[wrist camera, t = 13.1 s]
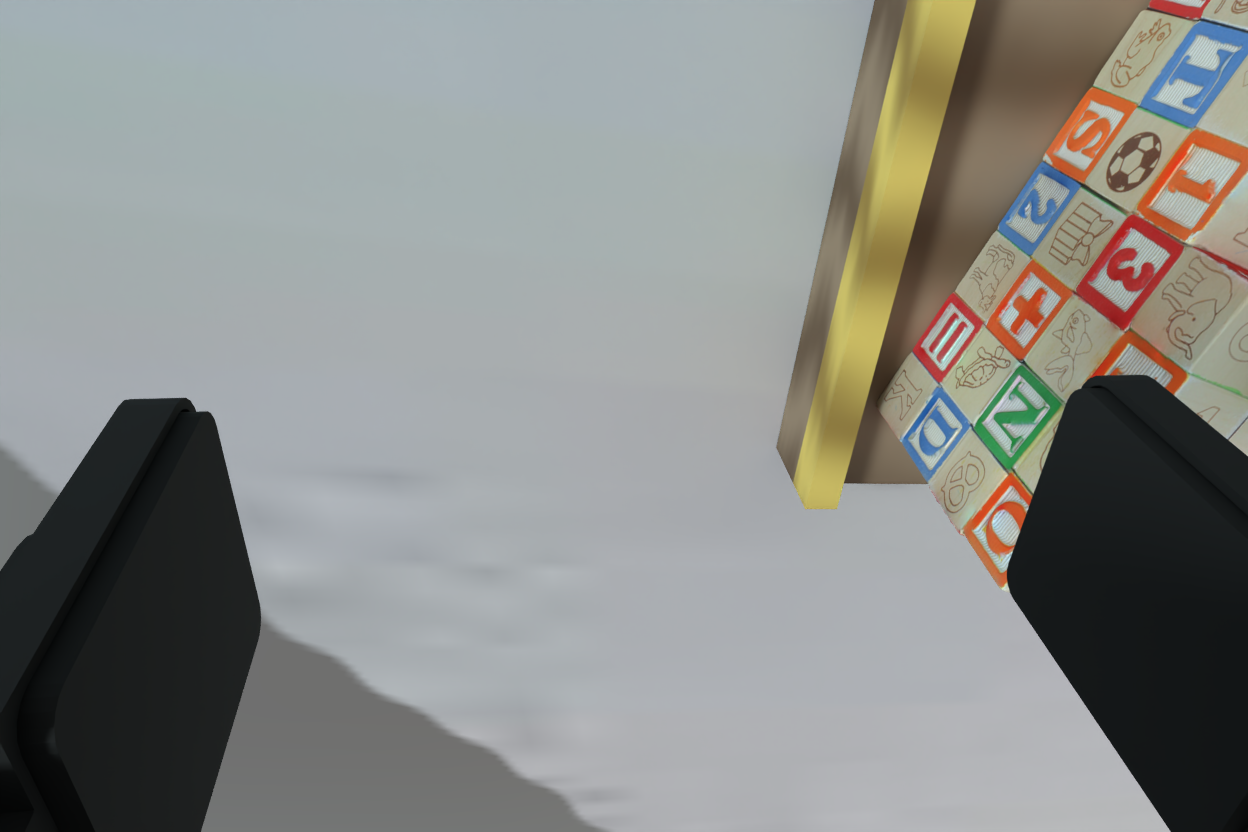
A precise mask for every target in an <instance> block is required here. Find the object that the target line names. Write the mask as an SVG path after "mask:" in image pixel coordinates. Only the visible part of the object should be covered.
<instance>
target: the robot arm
mask: <svg viewBox="0 0 1248 832" xmlns="http://www.w3.org/2000/svg"><path fill="white" fill-rule="evenodd" d="M1007 583H1008V587H1009V591H1010V593H1011V595H1012V597H1013V599H1014V600H1015V602H1016V603H1017V605H1018V606H1019V608H1020V609H1021V611H1022V612H1023V614H1024V615H1025V617H1026V618H1027V620H1028V621H1029V623H1030V624H1031V625H1032V627H1033V628H1034V630H1035V631H1036V633H1037V634H1038V636H1039V637H1040V639H1041V640H1042V642H1043V643H1044V645H1045V646H1046V648H1047V649H1048V651H1049V652H1050V654H1051V655H1052V657H1053V658H1054V659H1055V661H1056V662H1057V664H1058V665H1059V667H1060V668H1061V670H1062V671H1063V673H1064V674H1065V676H1066V677H1067V679H1068V680H1069V682H1070V683H1071V685H1072V686H1073V688H1074V689H1075V691H1076V692H1077V693H1078V695H1079V696H1080V698H1081V699H1082V701H1083V702H1084V704H1085V705H1086V707H1087V708H1088V710H1089V711H1090V713H1091V714H1092V716H1093V717H1094V719H1095V720H1096V722H1097V723H1098V725H1099V726H1100V728H1101V729H1102V730H1103V732H1104V733H1105V735H1106V736H1107V738H1108V739H1109V741H1110V742H1111V744H1112V745H1113V747H1114V748H1115V750H1116V751H1117V753H1118V754H1119V756H1120V757H1121V759H1122V760H1123V762H1124V763H1125V764H1126V766H1127V767H1128V769H1129V770H1130V772H1131V773H1132V775H1133V776H1134V778H1135V779H1136V781H1137V782H1138V784H1139V785H1140V787H1141V788H1142V790H1143V791H1144V793H1145V794H1146V796H1147V797H1148V799H1149V800H1150V801H1151V803H1152V804H1153V806H1154V807H1155V809H1156V810H1157V812H1158V813H1159V815H1160V816H1161V818H1162V819H1163V821H1164V822H1165V824H1166V825H1167V827H1168V828H1169V830H1170V831H1171V832H1248V456H1247V455H1246V454H1244V453H1243V452H1242V451H1241V450H1240V449H1238V448H1237V447H1236V446H1235V445H1234V444H1232V443H1231V442H1230V441H1229V440H1228V439H1226V438H1225V437H1224V436H1223V435H1221V434H1220V433H1219V432H1218V431H1217V430H1215V429H1214V428H1213V427H1212V426H1211V425H1209V424H1208V423H1207V422H1206V421H1205V420H1203V419H1202V418H1201V417H1200V416H1198V415H1197V414H1196V413H1195V412H1194V411H1192V410H1191V409H1190V408H1189V407H1188V406H1186V405H1185V404H1184V403H1183V402H1182V401H1180V400H1179V399H1178V398H1177V397H1175V396H1174V395H1173V394H1172V393H1171V392H1169V391H1168V390H1167V389H1166V388H1165V387H1163V386H1162V385H1161V384H1160V383H1159V382H1157V381H1156V380H1155V379H1153V378H1151V377H1149V376H1148V375H1102V376H1094V377H1092V378H1089V379H1088V380H1087V381H1086V382H1085V383H1084V384H1083V385H1082V387H1081V389H1078V390H1075V391H1074V392H1073V393H1072V394H1071V395H1070V396H1069V398H1068V400H1067V402H1066V405H1065V408H1064V411H1063V413H1062V416H1061V419H1060V422H1059V425H1058V427H1057V430H1056V433H1055V436H1054V438H1053V441H1052V444H1051V447H1050V449H1049V452H1048V455H1047V458H1046V461H1045V463H1044V466H1043V469H1042V472H1041V474H1040V477H1039V480H1038V483H1037V485H1036V488H1035V491H1034V494H1033V497H1032V499H1031V502H1030V505H1029V508H1028V510H1027V513H1026V516H1025V519H1024V522H1023V524H1022V527H1021V530H1020V533H1019V535H1018V538H1017V541H1016V544H1015V546H1014V549H1013V552H1012V555H1011V558H1010V560H1009V563H1008V567H1007ZM260 626H261V611H260V603H259V599H258V595H257V591H256V586H255V582H254V578H253V574H252V570H251V566H250V562H249V558H248V553H247V549H246V545H245V541H244V537H243V533H242V529H241V525H240V521H239V516H238V512H237V508H236V504H235V500H234V496H233V492H232V488H231V484H230V479H229V475H228V471H227V467H226V463H225V459H224V455H223V451H222V446H221V442H220V438H219V434H218V430H217V426H216V423H215V420H214V418H213V416H212V414H211V413H209V412H208V411H207V412H196V410H195V407H194V406H193V404H192V403H191V401H190V400H188V399H187V398H161V399H129V400H124V401H123V402H122V403H121V404H120V405H119V406H118V408H117V409H116V411H115V412H114V414H113V415H112V417H111V418H110V420H109V421H108V423H107V424H106V426H105V427H104V429H103V430H102V432H101V433H100V435H99V436H98V438H97V439H96V441H95V442H94V444H93V445H92V447H91V448H90V450H89V451H88V453H87V454H86V456H85V457H84V459H83V460H82V462H81V463H80V465H79V466H78V468H77V469H76V471H75V472H74V474H73V475H72V477H71V478H70V480H69V481H68V483H67V484H66V486H65V487H64V489H63V490H62V492H61V493H60V495H59V496H58V498H57V499H56V501H55V502H54V504H53V505H52V507H51V508H50V510H49V511H48V513H47V514H46V516H45V517H44V518H43V520H42V521H41V523H40V524H39V526H38V527H37V529H36V531H35V532H34V533H33V534H32V535H29V536H27V537H26V538H25V539H24V540H23V541H22V542H21V543H20V544H19V545H18V546H17V548H16V549H15V550H14V552H13V553H12V555H11V556H10V558H9V559H8V561H7V562H6V564H5V565H4V566H3V568H2V569H1V571H0V832H201V829H202V826H203V822H204V819H205V816H206V812H207V809H208V806H209V802H210V799H211V796H212V792H213V789H214V785H215V782H216V779H217V776H218V772H219V769H220V766H221V762H222V759H223V755H224V752H225V749H226V746H227V742H228V739H229V736H230V732H231V729H232V726H233V722H234V719H235V715H236V712H237V709H238V706H239V702H240V699H241V696H242V692H243V689H244V685H245V682H246V679H247V676H248V672H249V669H250V665H251V662H252V659H253V655H254V652H255V649H256V646H257V642H258V639H259V633H260Z"/></svg>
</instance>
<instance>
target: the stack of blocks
mask: <svg viewBox="0 0 1248 832" xmlns="http://www.w3.org/2000/svg"><path fill="white" fill-rule="evenodd" d="M1102 375H1148V376H1149V377H1151V378H1153V379H1155V380H1156V381H1157V382H1159V383H1160V384H1161V385H1162V386H1163V387H1165V388H1166V389H1167V390H1168V391H1169V392H1171V393H1172V394H1173V395H1174V396H1175V397H1177V398H1178V399H1179V400H1180V401H1182V402H1183V403H1184V404H1185V405H1186V406H1188V407H1189V408H1190V409H1191V410H1192V411H1194V412H1195V413H1196V414H1197V415H1198V416H1200V417H1201V418H1202V419H1203V420H1205V421H1206V422H1207V423H1208V424H1209V425H1211V426H1212V427H1213V428H1214V429H1215V430H1217V431H1218V432H1219V433H1220V434H1221V435H1223V436H1224V437H1225V438H1226V439H1228V440H1229V441H1230V442H1231V443H1232V444H1234V445H1235V446H1236V447H1237V448H1238V449H1240V450H1241V451H1242V452H1243V453H1244V454H1246V455H1247V456H1248V0H1151V1H1150V3H1149V6H1148V8H1147V9H1145V10H1143V11H1142V12H1140V13H1139V15H1138V16H1137V18H1136V19H1135V21H1134V22H1133V24H1132V25H1131V27H1130V28H1129V30H1128V31H1127V33H1126V34H1125V36H1124V37H1123V38H1122V40H1121V41H1120V43H1119V44H1118V46H1117V47H1116V49H1115V50H1114V52H1113V53H1112V55H1111V56H1110V58H1109V59H1108V61H1107V62H1106V64H1105V65H1104V67H1103V68H1102V70H1101V71H1100V73H1099V75H1098V76H1097V78H1096V80H1095V82H1094V84H1093V86H1092V87H1091V88H1090V89H1089V90H1088V91H1087V93H1086V94H1085V95H1084V97H1083V98H1082V100H1081V101H1080V102H1079V104H1078V105H1077V107H1076V108H1075V110H1074V111H1073V113H1072V114H1071V116H1070V117H1069V119H1068V120H1067V122H1066V123H1065V124H1064V126H1063V127H1062V129H1061V130H1060V132H1059V133H1058V135H1057V136H1056V138H1055V139H1054V141H1053V142H1052V144H1051V145H1050V147H1049V148H1048V150H1047V151H1046V152H1045V154H1044V156H1043V161H1042V162H1041V163H1040V164H1039V166H1038V167H1037V169H1036V170H1035V171H1034V173H1033V174H1032V176H1031V177H1030V179H1029V180H1028V182H1027V183H1026V185H1025V186H1024V188H1023V189H1022V191H1021V192H1020V194H1019V195H1018V197H1017V198H1016V200H1015V202H1014V203H1013V204H1012V206H1011V207H1010V209H1009V210H1008V212H1007V213H1006V215H1005V216H1004V218H1003V219H1002V220H1001V222H1000V223H999V226H998V229H997V230H996V231H995V232H994V233H993V235H992V236H991V238H990V239H989V241H988V242H987V244H986V245H985V247H984V248H983V250H982V251H981V252H980V254H979V255H978V257H977V258H976V260H975V261H974V263H973V264H972V266H971V267H970V269H969V270H968V272H967V273H966V275H965V276H964V278H963V279H962V281H961V282H960V283H959V285H958V286H957V289H956V290H955V292H953V293H952V294H951V295H950V296H949V297H948V298H947V300H946V301H945V303H944V304H943V306H942V307H941V309H940V310H939V311H938V313H937V314H936V316H935V317H934V319H933V320H932V322H931V323H930V325H929V326H928V328H927V329H926V331H925V332H924V334H923V335H922V336H921V338H920V339H919V341H918V342H917V344H916V345H915V347H914V349H913V351H912V352H911V353H910V354H909V355H908V356H907V358H906V359H905V361H904V362H903V363H902V365H901V366H900V368H899V369H898V371H897V372H896V374H895V375H894V377H893V378H892V380H891V381H890V383H889V384H888V386H887V387H886V389H885V390H884V392H883V393H882V395H881V396H880V398H879V399H878V401H877V404H876V407H877V409H878V410H879V412H880V413H881V415H882V416H883V418H884V419H885V420H886V422H887V423H888V425H889V427H890V428H891V429H892V431H893V433H894V434H895V436H896V437H897V438H898V439H899V441H900V442H902V444H903V446H904V447H905V449H906V451H907V452H908V454H909V455H910V457H911V458H912V460H913V461H914V463H915V464H916V466H917V467H918V469H919V471H920V472H921V474H922V475H923V477H924V479H925V480H926V482H927V483H928V484H929V488H930V490H931V492H932V493H933V495H934V496H935V498H936V500H937V502H938V503H939V504H940V505H941V507H942V509H943V510H944V512H945V513H946V515H947V516H948V517H949V519H950V521H951V523H952V524H953V525H954V526H955V528H956V530H957V531H958V532H959V534H960V535H963V536H966V538H967V539H968V541H969V543H970V544H971V546H972V547H973V549H974V550H975V552H976V553H977V555H978V556H979V558H980V559H981V561H982V562H983V564H984V565H985V567H986V568H987V570H988V571H989V573H990V574H991V576H992V577H993V579H994V580H995V582H996V583H997V585H998V586H999V588H1001V589H1002V590H1003V591H1006V592H1010V591H1009V587H1008V583H1007V567H1008V563H1009V560H1010V558H1011V555H1012V552H1013V549H1014V546H1015V544H1016V541H1017V538H1018V535H1019V533H1020V530H1021V527H1022V524H1023V522H1024V519H1025V516H1026V513H1027V510H1028V508H1029V505H1030V502H1031V499H1032V497H1033V494H1034V491H1035V488H1036V485H1037V483H1038V480H1039V477H1040V474H1041V472H1042V469H1043V466H1044V463H1045V461H1046V458H1047V455H1048V452H1049V449H1050V447H1051V444H1052V441H1053V438H1054V436H1055V433H1056V430H1057V427H1058V425H1059V422H1060V419H1061V416H1062V413H1063V411H1064V408H1065V405H1066V402H1067V400H1068V398H1069V396H1070V395H1071V394H1072V393H1073V392H1074V391H1075V390H1078V389H1081V387H1082V385H1083V384H1084V383H1085V382H1086V381H1087V380H1088V379H1089V378H1092V377H1094V376H1102Z"/></svg>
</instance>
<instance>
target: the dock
mask: <svg viewBox="0 0 1248 832" xmlns="http://www.w3.org/2000/svg"><path fill="white" fill-rule="evenodd" d="M1150 1H1151V0H875V2H874V7H873V11H872V16H871V20H870V25H869V29H868V34H867V38H866V43H865V47H864V52H863V57H862V61H861V66H860V70H859V75H858V79H857V84H856V88H855V93H854V97H853V102H852V107H851V111H850V116H849V120H848V125H847V129H846V134H845V138H844V143H843V147H842V152H841V156H840V161H839V166H838V170H837V175H836V179H835V184H834V188H833V193H832V197H831V202H830V206H829V211H828V216H827V220H826V225H825V229H824V234H823V238H822V243H821V247H820V252H819V256H818V261H817V265H816V270H815V275H814V279H813V284H812V288H811V293H810V297H809V302H808V306H807V311H806V315H805V320H804V325H803V329H802V334H801V338H800V343H799V347H798V352H797V356H796V361H795V365H794V370H793V374H792V379H791V384H790V388H789V393H788V397H787V402H786V406H785V411H784V415H783V420H782V424H781V429H780V433H779V438H778V443H777V447H776V448H777V450H778V452H779V454H780V456H781V458H782V461H783V463H784V465H785V467H786V469H787V471H788V473H789V475H790V478H791V480H792V482H793V484H794V486H795V488H796V490H797V492H798V495H799V497H800V499H801V501H802V503H803V505H804V507H805V509H837V506H838V503H839V499H840V495H841V492H842V488H843V484H844V483H869V484H928V483H927V482H926V480H925V479H924V477H923V475H922V474H921V472H920V471H919V469H918V467H917V466H916V464H915V463H914V461H913V460H912V458H911V457H910V455H909V454H908V452H907V451H906V449H905V447H904V446H903V444H902V442H900V441H899V439H898V438H897V437H896V436H895V434H894V433H893V431H892V429H891V428H890V427H889V425H888V423H887V422H886V420H885V419H884V418H883V416H882V415H881V413H880V412H879V410H878V409H877V407H876V404H877V401H878V399H879V398H880V396H881V395H882V393H883V392H884V390H885V389H886V387H887V386H888V384H889V383H890V381H891V380H892V378H893V377H894V375H895V374H896V372H897V371H898V369H899V368H900V366H901V365H902V363H903V362H904V361H905V359H906V358H907V356H908V355H909V354H910V353H911V352H912V351H913V349H914V347H915V345H916V344H917V342H918V341H919V339H920V338H921V336H922V335H923V334H924V332H925V331H926V329H927V328H928V326H929V325H930V323H931V322H932V320H933V319H934V317H935V316H936V314H937V313H938V311H939V310H940V309H941V307H942V306H943V304H944V303H945V301H946V300H947V298H948V297H949V296H950V295H951V294H952V293H953V292H955V290H956V289H957V286H958V285H959V283H960V282H961V281H962V279H963V278H964V276H965V275H966V273H967V272H968V270H969V269H970V267H971V266H972V264H973V263H974V261H975V260H976V258H977V257H978V255H979V254H980V252H981V251H982V250H983V248H984V247H985V245H986V244H987V242H988V241H989V239H990V238H991V236H992V235H993V233H994V232H995V231H996V230H997V229H998V226H999V223H1000V222H1001V220H1002V219H1003V218H1004V216H1005V215H1006V213H1007V212H1008V210H1009V209H1010V207H1011V206H1012V204H1013V203H1014V202H1015V200H1016V198H1017V197H1018V195H1019V194H1020V192H1021V191H1022V189H1023V188H1024V186H1025V185H1026V183H1027V182H1028V180H1029V179H1030V177H1031V176H1032V174H1033V173H1034V171H1035V170H1036V169H1037V167H1038V166H1039V164H1040V163H1041V162H1042V161H1043V156H1044V154H1045V152H1046V151H1047V150H1048V148H1049V147H1050V145H1051V144H1052V142H1053V141H1054V139H1055V138H1056V136H1057V135H1058V133H1059V132H1060V130H1061V129H1062V127H1063V126H1064V124H1065V123H1066V122H1067V120H1068V119H1069V117H1070V116H1071V114H1072V113H1073V111H1074V110H1075V108H1076V107H1077V105H1078V104H1079V102H1080V101H1081V100H1082V98H1083V97H1084V95H1085V94H1086V93H1087V91H1088V90H1089V89H1090V88H1091V87H1092V86H1093V84H1094V82H1095V80H1096V78H1097V76H1098V75H1099V73H1100V71H1101V70H1102V68H1103V67H1104V65H1105V64H1106V62H1107V61H1108V59H1109V58H1110V56H1111V55H1112V53H1113V52H1114V50H1115V49H1116V47H1117V46H1118V44H1119V43H1120V41H1121V40H1122V38H1123V37H1124V36H1125V34H1126V33H1127V31H1128V30H1129V28H1130V27H1131V25H1132V24H1133V22H1134V21H1135V19H1136V18H1137V16H1138V15H1139V13H1140V12H1142V11H1143V10H1145V9H1147V8H1148V6H1149V3H1150Z"/></svg>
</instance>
